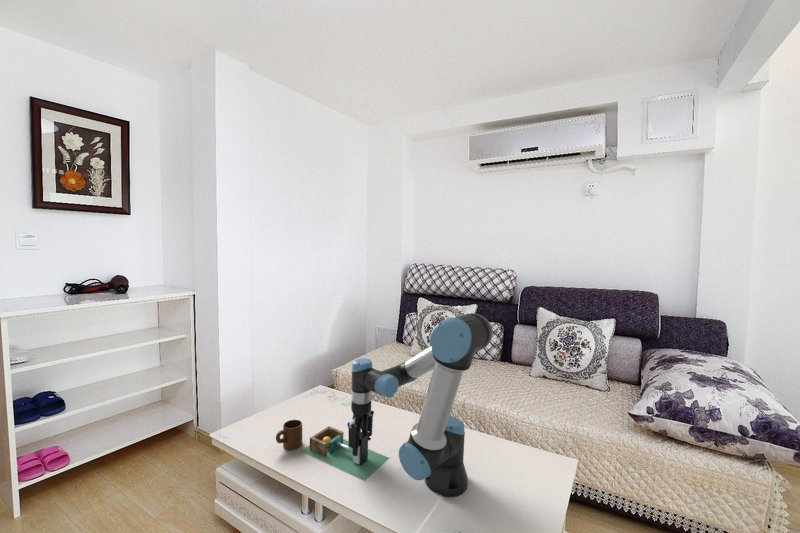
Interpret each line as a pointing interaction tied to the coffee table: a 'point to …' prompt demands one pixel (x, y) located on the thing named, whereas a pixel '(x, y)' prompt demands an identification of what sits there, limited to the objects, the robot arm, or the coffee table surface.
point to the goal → (318, 444)
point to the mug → (291, 435)
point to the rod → (363, 444)
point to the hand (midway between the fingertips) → (360, 459)
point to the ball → (326, 440)
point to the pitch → (350, 461)
